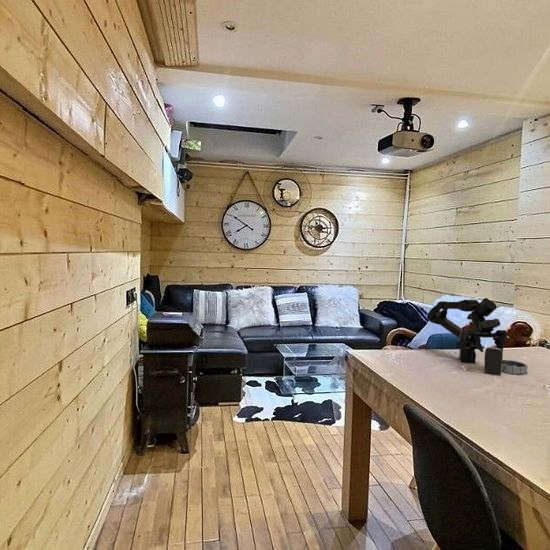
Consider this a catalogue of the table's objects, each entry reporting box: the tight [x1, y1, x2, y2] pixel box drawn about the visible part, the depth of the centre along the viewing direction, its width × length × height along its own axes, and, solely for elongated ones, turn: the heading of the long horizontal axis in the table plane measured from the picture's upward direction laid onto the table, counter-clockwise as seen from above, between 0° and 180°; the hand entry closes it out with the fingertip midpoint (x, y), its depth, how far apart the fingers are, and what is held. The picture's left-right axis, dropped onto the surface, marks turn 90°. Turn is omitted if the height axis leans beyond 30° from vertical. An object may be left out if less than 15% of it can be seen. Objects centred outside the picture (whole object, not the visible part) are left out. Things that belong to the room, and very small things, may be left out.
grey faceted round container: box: [501, 359, 529, 376], centre depth 191 cm, size 13×13×3 cm
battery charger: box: [483, 346, 504, 376], centre depth 185 cm, size 7×4×11 cm, turn 63°
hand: (492, 351), depth 186 cm, fingers open, 9 cm apart
